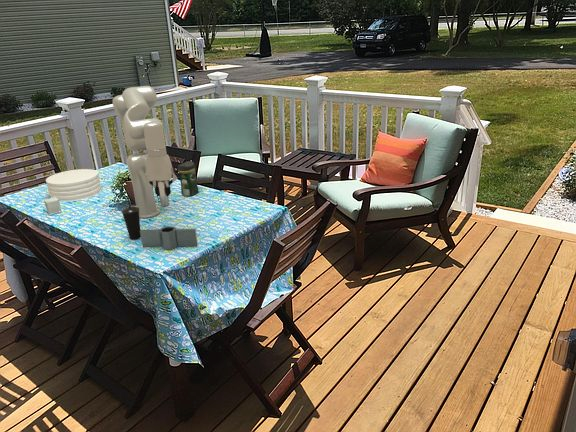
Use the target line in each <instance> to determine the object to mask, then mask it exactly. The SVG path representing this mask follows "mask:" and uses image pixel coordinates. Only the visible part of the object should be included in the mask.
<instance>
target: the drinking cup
mask: <svg viewBox="0 0 576 432" xmlns="http://www.w3.org/2000/svg"><path fill="white" fill-rule="evenodd" d="M126 198H127V204H128V206H126V207H125V208H123V209H121V214H122V216H123V220H124V223H125V226H126V230H127V233H128V237H129V239H130V240H131V241H135V240H140V239H141V235H140V230H141V218H139V208H138V207H134V206H135V205H131V201H130V197H129V195H128V196H126Z"/></svg>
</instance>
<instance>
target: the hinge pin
mask: <svg viewBox="0 0 576 432" xmlns="http://www.w3.org/2000/svg"><path fill="white" fill-rule="evenodd" d="M157 185H158V191H159V196H158V197H159V202H160V207H161V208H167V207H169V206H170V200H169V196H166V190H165V187H166V184H165V181H157Z"/></svg>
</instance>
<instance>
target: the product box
mask: <svg viewBox="0 0 576 432" xmlns="http://www.w3.org/2000/svg"><path fill="white" fill-rule="evenodd" d="M43 202H44V205H45V206H44V207H45V209H46V213H47V212H48V213H49V214H51V213H55V212H59V211H62V207H61V203H59V200H58V199H57V198H56V197H54V198H50V197H49V198H47V199H44V200H43ZM48 213H47V214H48ZM49 214H48V215H49Z"/></svg>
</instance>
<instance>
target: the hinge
mask: <svg viewBox="0 0 576 432" xmlns="http://www.w3.org/2000/svg"><path fill="white" fill-rule="evenodd" d="M140 235H141V238H140V240H141V245H142V248H161V249H162V250H164V251H173V250H175V249H177V248H185V247H187V248H189V247H191V248H193V247H199V245H198V236H197V230H196V228H177V227H176V226H174V225H173V226H170V225H168V226H164V227H160V228H158V229H157V228H156V229H140Z"/></svg>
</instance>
